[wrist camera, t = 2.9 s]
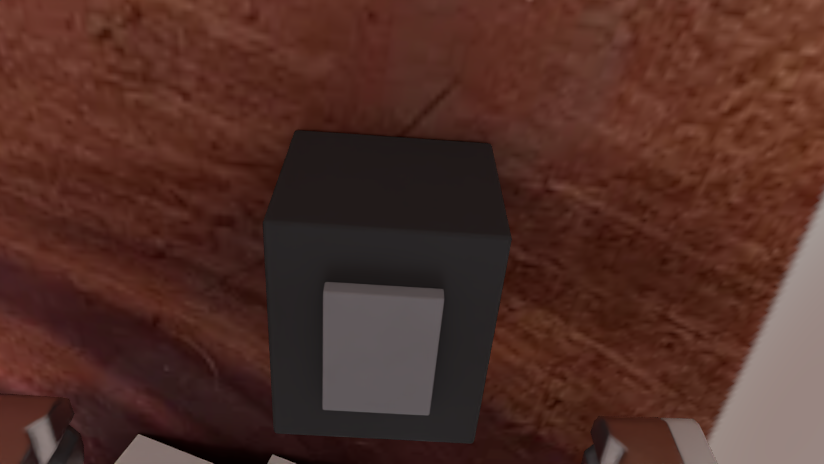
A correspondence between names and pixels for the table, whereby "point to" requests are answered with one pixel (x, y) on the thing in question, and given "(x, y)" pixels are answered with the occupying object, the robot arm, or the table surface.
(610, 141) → the table surface
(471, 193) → the black block
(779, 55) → the table surface
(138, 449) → the bracket
